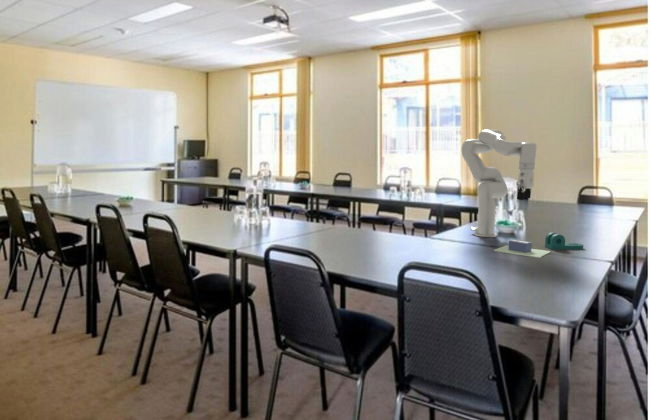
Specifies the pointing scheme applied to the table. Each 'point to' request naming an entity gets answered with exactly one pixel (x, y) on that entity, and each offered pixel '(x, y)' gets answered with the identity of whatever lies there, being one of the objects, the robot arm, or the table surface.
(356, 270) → the table surface
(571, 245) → the bracket
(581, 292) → the table surface
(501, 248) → the mat
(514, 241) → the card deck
